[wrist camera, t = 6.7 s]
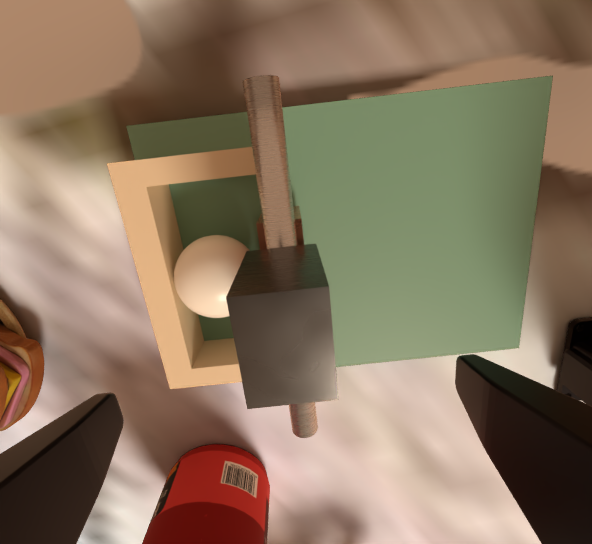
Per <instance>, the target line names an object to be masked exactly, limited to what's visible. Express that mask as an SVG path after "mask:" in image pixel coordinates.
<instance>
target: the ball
mask: <svg viewBox="0 0 592 544" xmlns="http://www.w3.org/2000/svg"><path fill="white" fill-rule="evenodd" d="M246 251H250V250H249V249H248V248H247V247H246V246H245V245H244V244H242V243H241V242H239V241H238V240H236V239H234V238H231V237H228V236H223V235H210V236H205V237H202V238H199V239H197V240H195V241H194V242H192V243H191V244H190V245H188V246H187V247H186V248H185V249H184V250H183V252H182V253H181V254H180V256H179V258H178V260H177V262H176V266H175V269H174V283H175V288H176V291H177V293H178V295H179V297H180V299H181V300H182V302H183V303H184V304H185V305H186V306H187V307H188V308H189V309H191V310H192V311H193V312H195V313H197V314H199V315H202V316H205V317H211V318H223V317H228V316H229V311H228V306H227V300H226V296H227V294H228V292H229V290H230V287H231V285H232V283H233V281H234V278H235V276H236V274H237V272H238V269H239V267H240V265H241V262H242V260H243V258H244V256H245V253H246Z"/></svg>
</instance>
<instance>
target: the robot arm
mask: <svg viewBox="0 0 592 544" xmlns="http://www.w3.org/2000/svg"><path fill="white" fill-rule="evenodd" d="M578 326H579V327H578ZM577 327H578V328H577ZM455 385H456V389H457V392H458V394H459V397H460V399H461V401H462V403H463V405H464V407H465V409H466V411H467V413H468V416H469V418H470V420H471V422H472V424H473V426H474V428H475V430H476V433H477V435H478V437H479V439H480V441H481V443H482V445H483V447H484V448H485V450H486V452H487V454H488V455H489V457H490V459H491V461H492V462H493V464H494V465H495V467H496V469H497V470H498V472H499V474H500V475H501V477H502V479H503V480H504V482H505V484H506V485H507V487H508V489H509V490H510V492H511V494H512V495H513V497H514V499H515V500H516V502H517V503H518V505H519V507H520V508H521V510H522V512H523V513H524V515H525V517H526V518H527V520H528V522H529V523H530V525H531V527H532V528H533V530H534V532H535V533H536V535H537V537H538V538H539V540H540V541H541V543H542V544H592V317H590V318H580V319H575V320H573V321H571V322H570V323H569V326H568V331H567V336H566V342H565V348H564V353H563V359H562V365H561V371H560V376H559V382H558V388H557V391H556V390H554V389H552V388H549V387H547V386H545V385H543V384H540V383H538V382H536V381H534V380H531V379H529V378H527V377H525V376H522V375H520V374H518V373H516V372H513V371H511V370H509V369H507V368H504V367H502V366H500V365H498V364H495V363H493V362H491V361H489V360H486V359H484V358H482V357H480V356H477V355H474V354H471V355H462V356H459V357H458V358H457V361H456V378H455ZM579 400H582V401H583V402H585V403H586V404H585V403H583V402H581V401H579ZM123 421H124V420H123V415H122V412H121V409H120V406H119V404H118V401H117V398H116V396H115V395H114V394H113V393H102V394H96V395H94V396H93V397H91V398H89V399H88V400H86V401H85V402H83V403H81V404H80V405H78V406H77V407H75V408H73V409H72V410H70V411H69V412H67V413H65V414H64V415H62V416H61V417H59V418H57V419H56V420H54V421H53V422H51V423H49V424H48V425H46V426H44V427H43V428H41V429H40V430H38V431H36V432H35V433H33V434H32V435H30V436H28V437H27V438H25V439H24V440H22V441H20V442H19V443H17V444H16V445H14V446H12V447H11V448H9V449H8V450H6V451H4V452H3V453H1V454H0V544H76V543H77V541H78V539H79V537H80V534H81V532H82V530H83V528H84V526H85V523H86V521H87V519H88V517H89V514H90V512H91V510H92V508H93V506H94V503H95V501H96V499H97V497H98V494H99V492H100V490H101V487H102V485H103V482H104V480H105V477H106V474H107V471H108V468H109V466H110V463H111V460H112V457H113V454H114V451H115V448H116V445H117V442H118V439H119V437H120V434H121V431H122V428H123Z"/></svg>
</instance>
